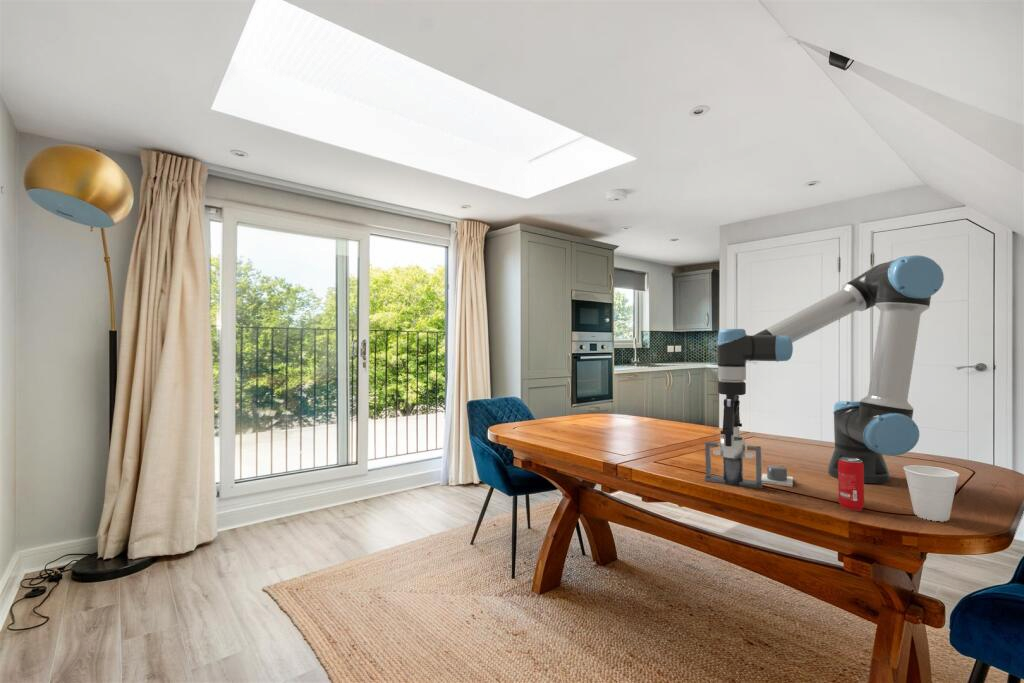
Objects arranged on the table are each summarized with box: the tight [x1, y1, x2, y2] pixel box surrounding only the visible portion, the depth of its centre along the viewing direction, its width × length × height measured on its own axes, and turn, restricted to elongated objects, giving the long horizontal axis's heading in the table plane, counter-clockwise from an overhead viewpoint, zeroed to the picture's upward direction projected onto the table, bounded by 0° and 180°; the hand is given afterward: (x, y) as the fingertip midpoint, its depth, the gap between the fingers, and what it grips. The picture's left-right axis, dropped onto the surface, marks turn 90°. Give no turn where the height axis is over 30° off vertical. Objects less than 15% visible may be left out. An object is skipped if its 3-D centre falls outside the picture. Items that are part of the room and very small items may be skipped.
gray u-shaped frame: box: [704, 441, 764, 489], centre depth 138 cm, size 15×5×11 cm, turn 58°
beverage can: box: [837, 457, 865, 512], centre depth 117 cm, size 5×5×12 cm
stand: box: [762, 465, 794, 488], centre depth 139 cm, size 8×8×4 cm
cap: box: [712, 436, 754, 459], centre depth 138 cm, size 11×7×6 cm, turn 58°
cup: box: [902, 464, 960, 523], centre depth 110 cm, size 10×10×11 cm
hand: (731, 452), depth 138 cm, fingers open, 13 cm apart
